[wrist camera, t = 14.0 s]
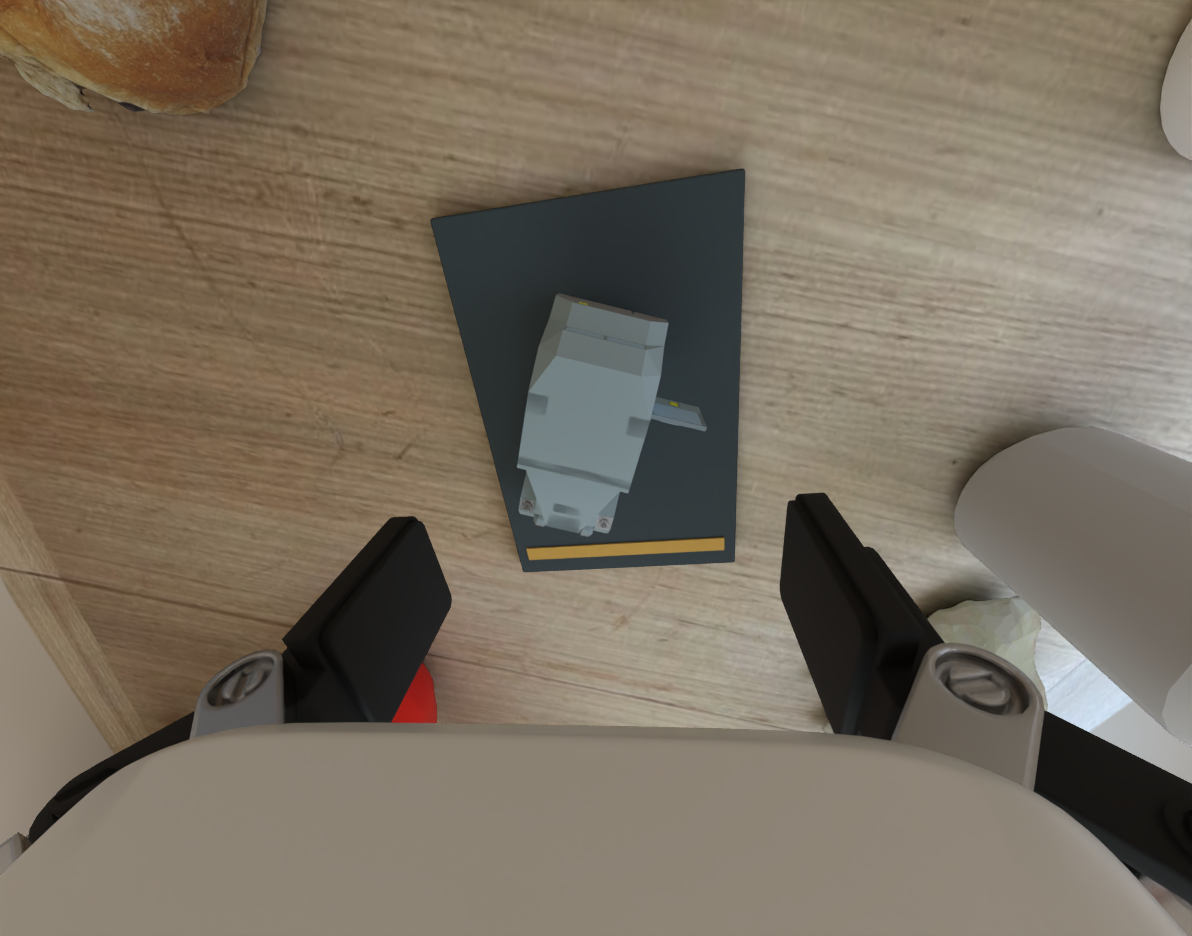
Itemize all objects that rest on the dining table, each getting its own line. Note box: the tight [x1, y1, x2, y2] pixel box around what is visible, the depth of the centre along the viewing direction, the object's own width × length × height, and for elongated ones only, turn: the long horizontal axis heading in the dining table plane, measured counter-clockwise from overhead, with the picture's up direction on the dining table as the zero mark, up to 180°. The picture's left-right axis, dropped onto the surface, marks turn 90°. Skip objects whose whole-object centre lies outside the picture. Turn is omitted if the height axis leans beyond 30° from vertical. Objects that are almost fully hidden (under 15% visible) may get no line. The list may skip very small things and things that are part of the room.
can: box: [954, 427, 1192, 748], centre depth 16 cm, size 8×8×12 cm
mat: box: [430, 169, 745, 572], centre depth 20 cm, size 12×18×1 cm, turn 7°
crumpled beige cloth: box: [822, 596, 1048, 734], centre depth 26 cm, size 12×3×15 cm
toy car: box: [517, 293, 707, 537], centre depth 18 cm, size 6×10×5 cm, turn 167°
